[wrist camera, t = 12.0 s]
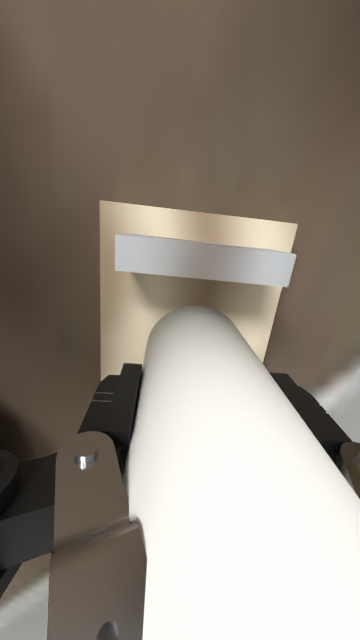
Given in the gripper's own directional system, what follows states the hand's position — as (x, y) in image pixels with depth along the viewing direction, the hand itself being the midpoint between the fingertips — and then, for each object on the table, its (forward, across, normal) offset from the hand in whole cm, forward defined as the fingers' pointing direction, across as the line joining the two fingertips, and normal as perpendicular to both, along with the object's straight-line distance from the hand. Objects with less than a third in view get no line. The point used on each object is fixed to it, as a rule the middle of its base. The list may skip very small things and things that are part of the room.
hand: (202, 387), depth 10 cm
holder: (+8, 0, 0) cm, 8 cm away
